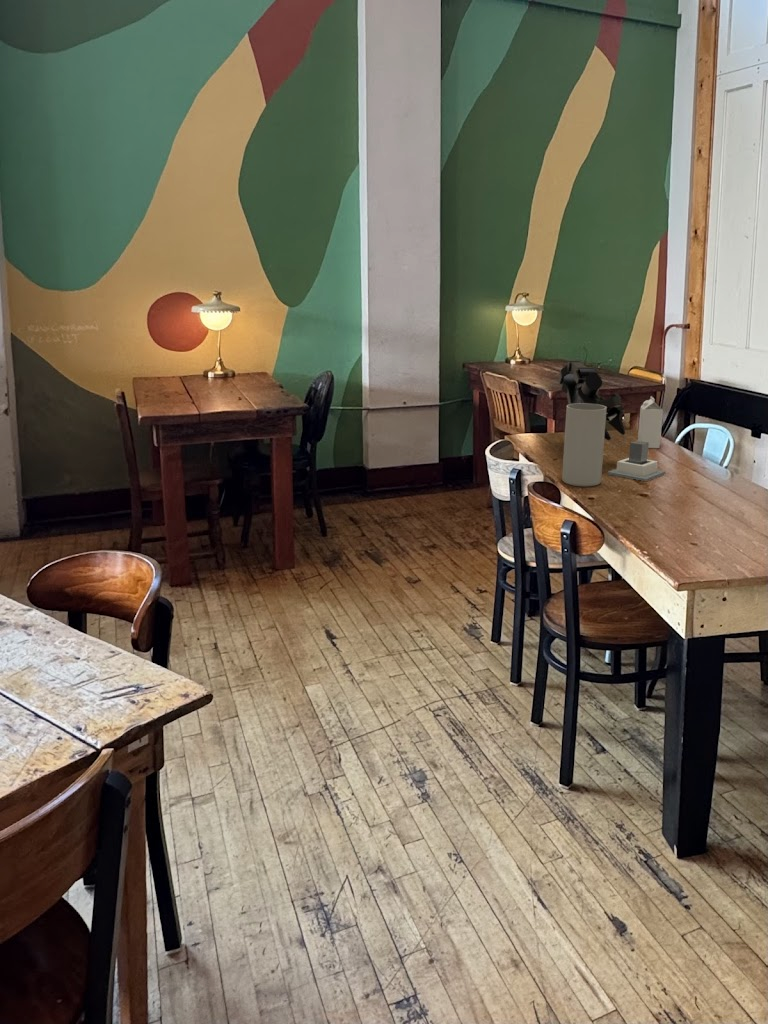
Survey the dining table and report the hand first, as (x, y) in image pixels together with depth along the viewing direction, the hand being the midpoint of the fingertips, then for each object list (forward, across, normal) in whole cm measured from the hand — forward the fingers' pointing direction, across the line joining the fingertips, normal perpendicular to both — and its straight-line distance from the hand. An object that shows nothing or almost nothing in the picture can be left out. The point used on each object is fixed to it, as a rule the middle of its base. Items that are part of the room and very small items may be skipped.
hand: (617, 436), depth 302 cm
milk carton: (+3, +41, +17) cm, 45 cm away
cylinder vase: (+9, -23, +6) cm, 26 cm away
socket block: (+14, -1, +1) cm, 15 cm away
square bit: (+14, -1, +1) cm, 14 cm away
